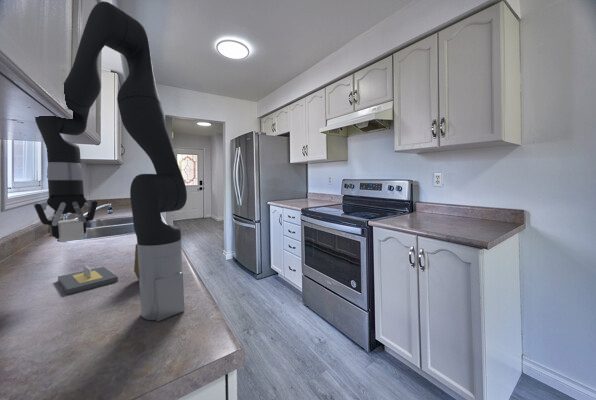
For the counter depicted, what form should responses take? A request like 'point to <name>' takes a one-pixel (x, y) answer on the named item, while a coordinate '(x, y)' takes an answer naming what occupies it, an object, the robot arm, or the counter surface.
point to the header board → (86, 279)
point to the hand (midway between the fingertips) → (69, 236)
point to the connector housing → (70, 230)
